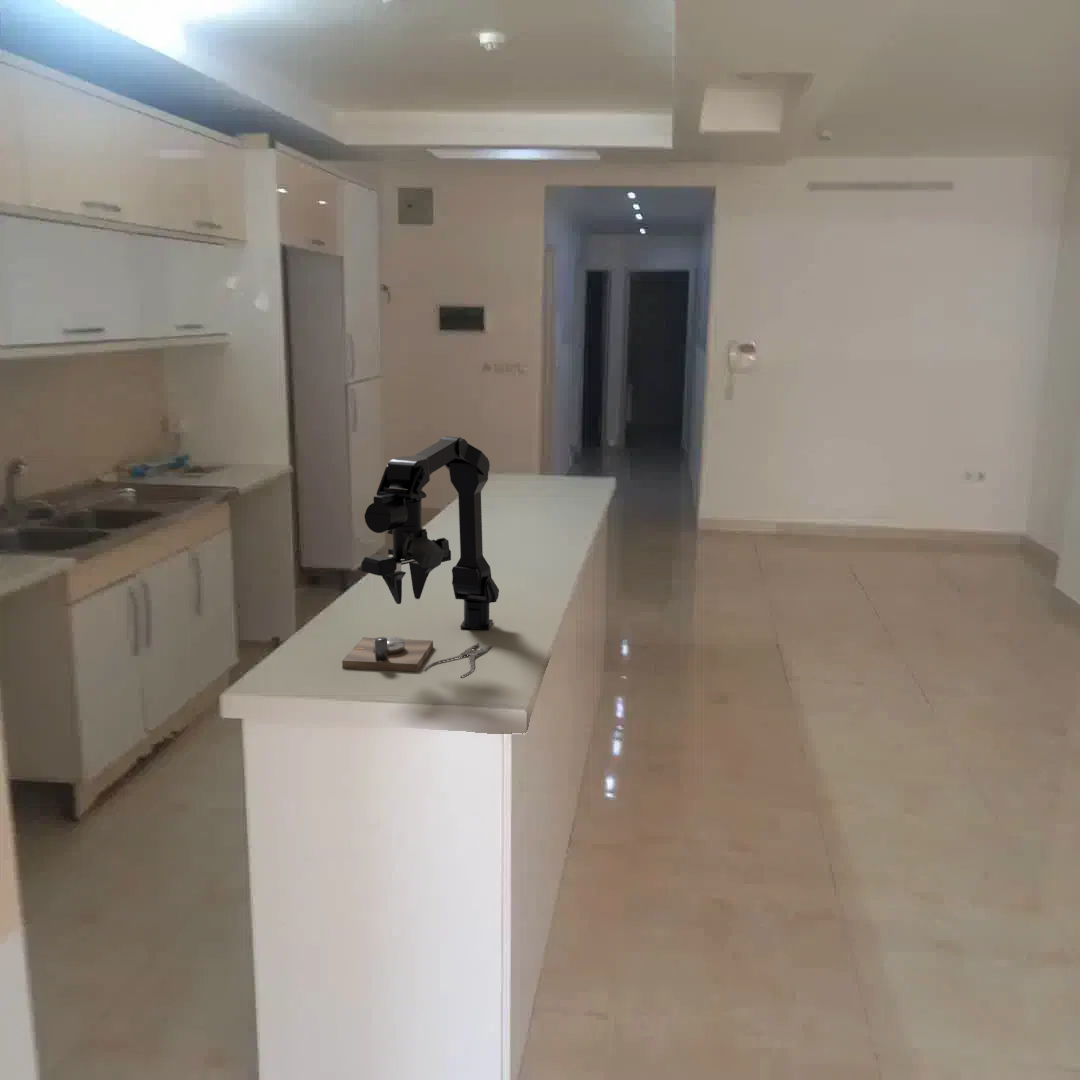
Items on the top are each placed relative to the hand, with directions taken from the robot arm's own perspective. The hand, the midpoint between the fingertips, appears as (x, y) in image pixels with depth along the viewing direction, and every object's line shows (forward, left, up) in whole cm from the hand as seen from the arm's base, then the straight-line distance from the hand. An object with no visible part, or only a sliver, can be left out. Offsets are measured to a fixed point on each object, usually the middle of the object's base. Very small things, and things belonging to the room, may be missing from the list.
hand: (408, 601), depth 200 cm
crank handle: (-1, -5, -11) cm, 12 cm away
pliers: (-4, +9, -14) cm, 17 cm away
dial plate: (-3, -5, -13) cm, 14 cm away
